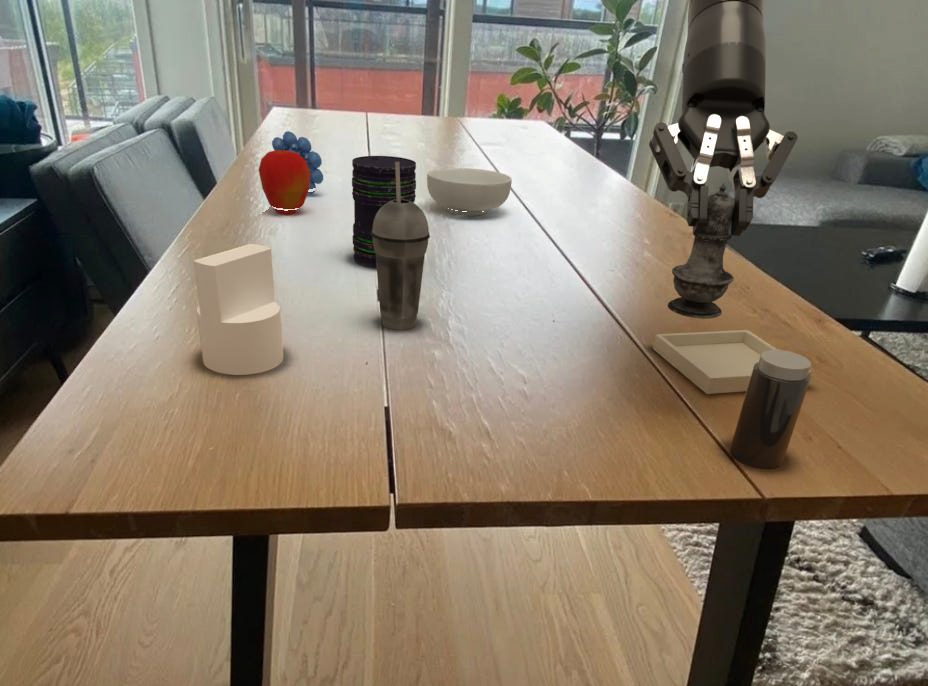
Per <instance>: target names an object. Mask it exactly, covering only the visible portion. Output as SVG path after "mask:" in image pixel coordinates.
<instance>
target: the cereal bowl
mask: <svg viewBox="0 0 928 686" xmlns="http://www.w3.org/2000/svg"><path fill="white" fill-rule="evenodd" d="M512 180H513V179H512V177H511V176H510V175H508V174H506V173H502V172H498V171H494V170H488V169H480V168H468V167H467V168H466V167H462V168H461V167H447V168H438V169H437V168H436V169H432V170H429V171H428V172H427V175H426V186H427V192H428V194H429V195H430V197H431V198H432V200H433V201H434V202H435V203H436V204H438V205H439V206H442V207H444V208H446V210H447V211H448V212H449V213H451V214H454V215H459V216H466V217H470V216H471V217H477V216H483V215H485V214H487V212H488V210H489V211H492V210H494V209H497V208H499V207H501V206H502V205H504V204H505V202H506V201H507V200H508V198H509V196H510V193H511V188H512V182H513V181H512ZM448 208H449V209H448ZM451 209H453V210H451ZM455 210H458V211H455ZM462 211H467V212H462ZM482 211H484V212H482Z"/></svg>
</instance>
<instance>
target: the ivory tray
mask: <svg viewBox="0 0 928 686" xmlns="http://www.w3.org/2000/svg"><path fill="white" fill-rule="evenodd" d="M652 350H653V351H654V352H656V353H657V354H658V355H659V356H661V358H663V359H664V360H665V361H666V362H668V364H670V365H671V366H672V367H674V368H675V369H676V370H677V371H678V372H680V373H681V374H682V375H683V376H684V377H686V378H687V379H688V380H689V381H690V382H692V383H693V385H695V386H696V387H698V388H699V389H700V390H701V391H702V392H703V393H705V394H706V395H713V394H726V393H727V394H728V393H741V392H746V391H747V388H748V384H749V381H750V377H751V374H752V370H753V367H754V365H755V364H756V363H757V362H759V358H760V355H761V353H762V352H764V351H767V350H778V348H776V347H774V346H773V345H772V344H770V343H768V342H767V341H765V340H764V339H762V338H761V337H759V336H758V335H756V334H754V333H753V332H751V331H750V330H749V329H740V330H739V329H738V330H719V331H699V332H677V333H674V332H673V333H657V334H655V337H654V341H653V345H652ZM809 374H810V375H811V374H812V371H811V370H810V371H809Z"/></svg>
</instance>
